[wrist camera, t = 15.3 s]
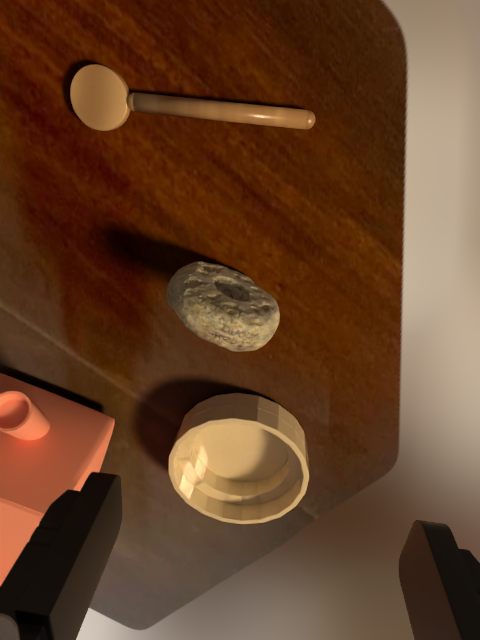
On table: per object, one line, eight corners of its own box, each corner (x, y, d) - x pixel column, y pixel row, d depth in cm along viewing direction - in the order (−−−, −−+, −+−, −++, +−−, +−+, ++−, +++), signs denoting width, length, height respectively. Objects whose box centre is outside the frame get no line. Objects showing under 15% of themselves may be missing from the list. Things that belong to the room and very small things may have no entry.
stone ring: (285, 293, 41) (285, 342, 32) (267, 321, 42) (262, 375, 33) (192, 243, 39) (165, 279, 30) (177, 274, 41) (147, 317, 32)
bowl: (316, 400, 46) (319, 430, 41) (295, 497, 52) (296, 532, 48) (180, 381, 46) (169, 409, 42) (177, 480, 53) (167, 513, 49)
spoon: (319, 87, 33) (321, 85, 32) (309, 152, 35) (310, 153, 34) (72, 62, 34) (64, 60, 33) (77, 127, 36) (70, 127, 35)
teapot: (-24, 293, 44) (-200, 391, 28) (173, 374, 46) (114, 509, 30) (-46, 452, 55) (-183, 588, 39) (114, 512, 57) (48, 665, 41)
